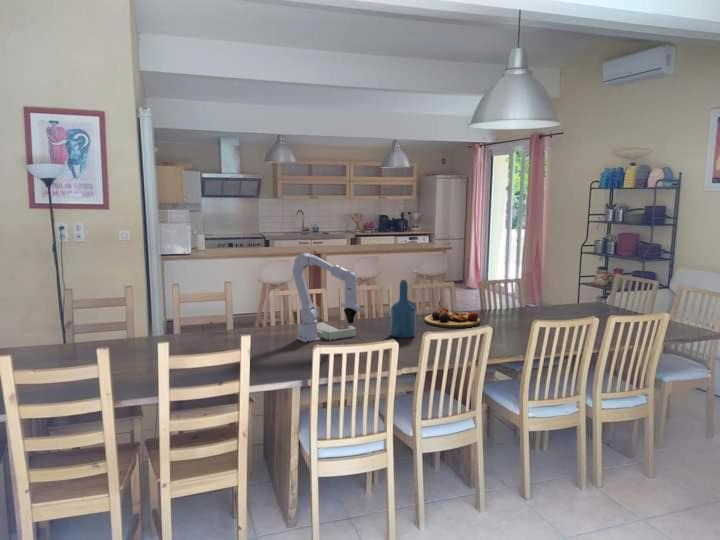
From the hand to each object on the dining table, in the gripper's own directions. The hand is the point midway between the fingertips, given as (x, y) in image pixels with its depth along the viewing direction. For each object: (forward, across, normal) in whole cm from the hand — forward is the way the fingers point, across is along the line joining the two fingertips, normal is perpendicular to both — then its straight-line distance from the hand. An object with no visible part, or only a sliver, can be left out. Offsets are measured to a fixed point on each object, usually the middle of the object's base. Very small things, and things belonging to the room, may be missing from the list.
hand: (350, 323), depth 269 cm
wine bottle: (+10, -6, -29) cm, 31 cm away
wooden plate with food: (+10, +3, -73) cm, 73 cm away
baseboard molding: (+10, +25, 0) cm, 27 cm away
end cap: (+9, +11, 0) cm, 14 cm away
